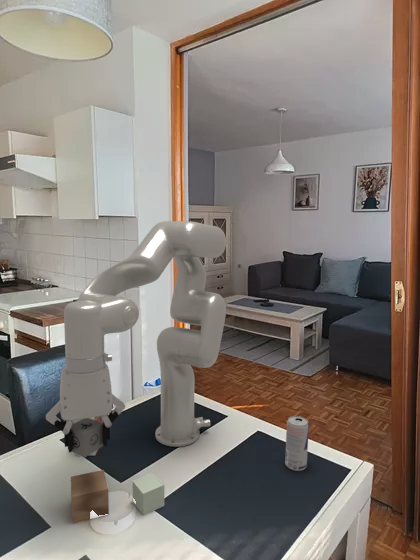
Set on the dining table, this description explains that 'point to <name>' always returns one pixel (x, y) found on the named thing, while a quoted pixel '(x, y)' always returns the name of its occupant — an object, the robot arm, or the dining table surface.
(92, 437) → the dice cube
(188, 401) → the robot arm
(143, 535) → the dining table surface
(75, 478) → the walnut block
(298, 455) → the energy drink
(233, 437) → the dining table surface
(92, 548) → the dining table surface
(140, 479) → the sage block
